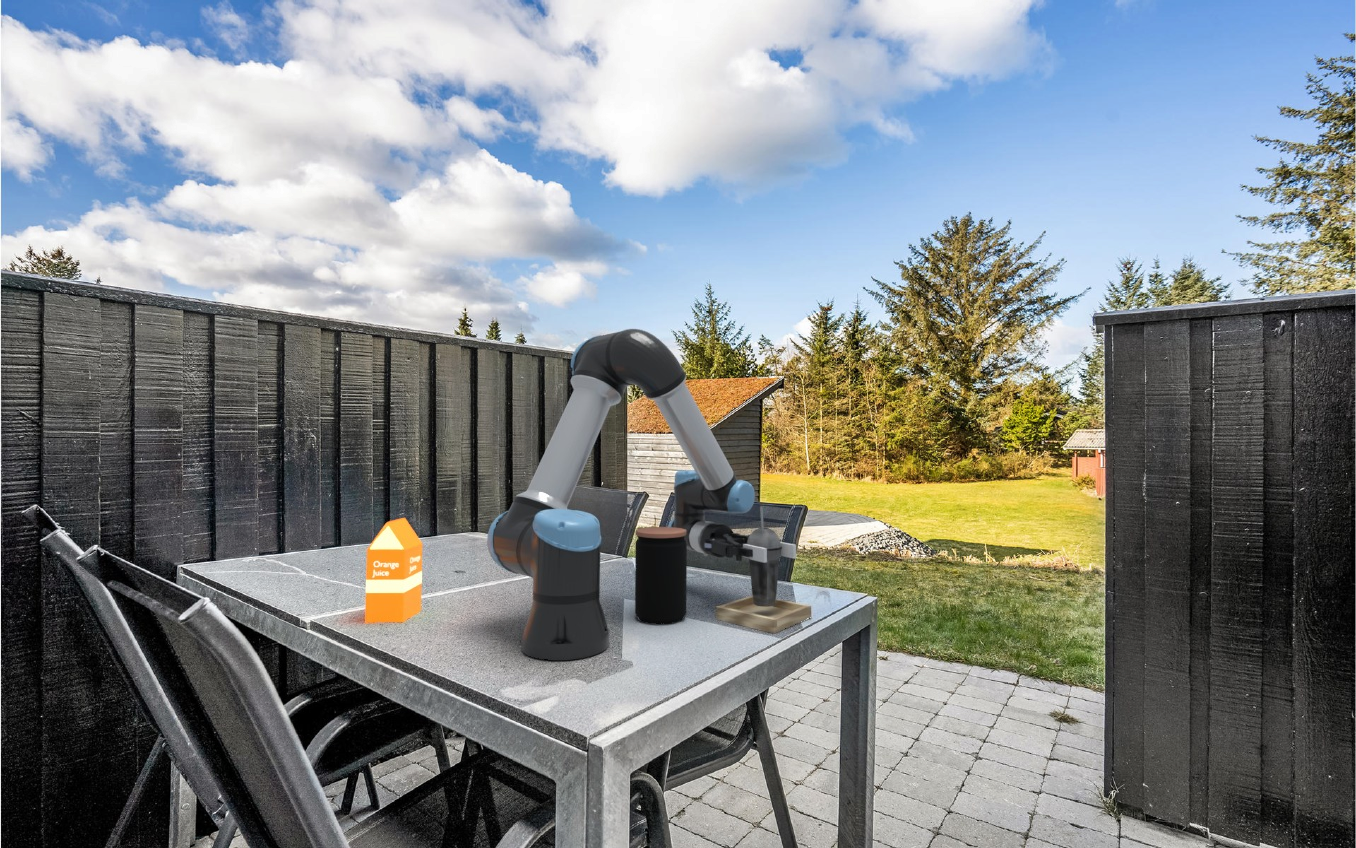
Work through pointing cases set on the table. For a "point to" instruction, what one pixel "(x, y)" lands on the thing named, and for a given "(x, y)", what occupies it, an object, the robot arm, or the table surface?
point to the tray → (763, 614)
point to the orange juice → (393, 574)
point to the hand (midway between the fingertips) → (780, 553)
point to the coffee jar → (660, 575)
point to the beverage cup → (765, 566)
